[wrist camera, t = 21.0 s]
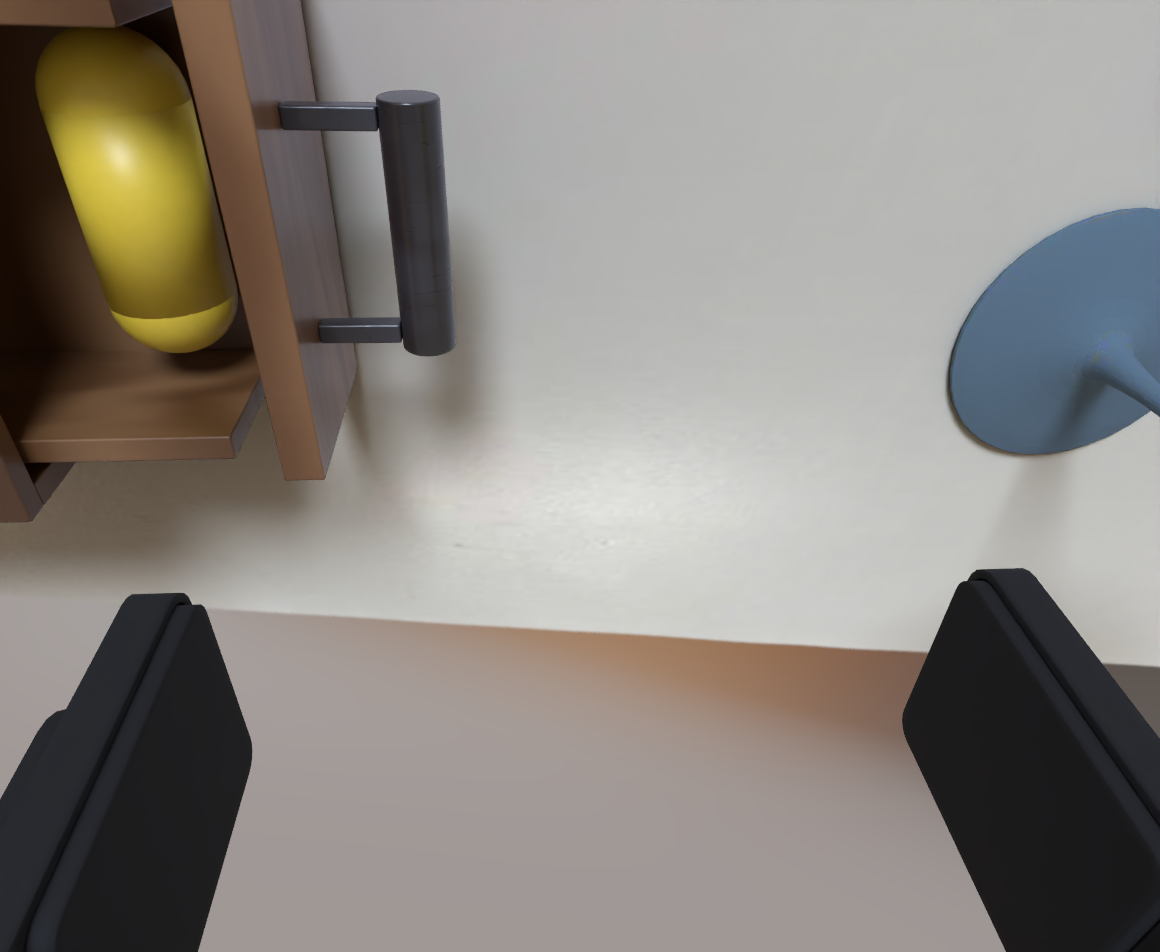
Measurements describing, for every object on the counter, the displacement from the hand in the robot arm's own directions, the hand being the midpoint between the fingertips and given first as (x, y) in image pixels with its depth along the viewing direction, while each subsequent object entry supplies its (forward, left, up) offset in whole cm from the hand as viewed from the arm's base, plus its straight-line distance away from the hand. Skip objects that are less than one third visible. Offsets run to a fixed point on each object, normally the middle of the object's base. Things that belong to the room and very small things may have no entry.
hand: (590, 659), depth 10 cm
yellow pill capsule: (-6, -9, -19) cm, 22 cm away
